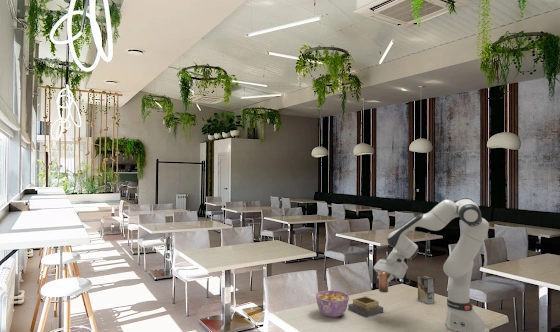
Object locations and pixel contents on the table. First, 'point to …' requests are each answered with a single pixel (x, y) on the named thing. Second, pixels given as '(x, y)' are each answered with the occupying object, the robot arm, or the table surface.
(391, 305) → the table surface
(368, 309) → the grey square holder
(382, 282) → the spout can
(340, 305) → the bowl of food
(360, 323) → the table surface
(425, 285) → the coffee box
